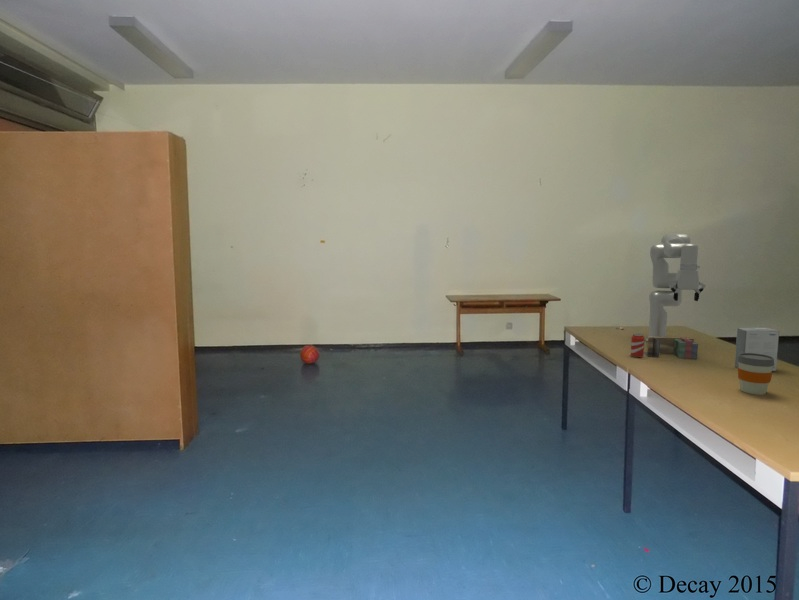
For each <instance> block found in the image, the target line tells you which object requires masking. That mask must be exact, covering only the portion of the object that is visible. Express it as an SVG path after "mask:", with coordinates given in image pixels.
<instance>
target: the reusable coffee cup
mask: <svg viewBox="0 0 799 600" xmlns="http://www.w3.org/2000/svg"><path fill="white" fill-rule="evenodd" d="M738 363H739V367H738V368H737V378H738V380H739V390H740V391H741V392H743V393H745V394H751V395H757V396H758V395H759V396H761V395H766V394H767V391H768V386H769V384H770V383H771V380H772V376H773V372H774V371H772V368H773V366H774V358H773V357H771V356H767V355H762V354H754V353H741V354H739V356H738Z"/></svg>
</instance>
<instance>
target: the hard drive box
mask: <svg viewBox="0 0 799 600" xmlns="http://www.w3.org/2000/svg"><path fill="white" fill-rule="evenodd" d="M779 337H780V331H779V330H777V329H774V328H769V327H737V328H736V340H735V341H736V343H735V356H734V357H735V358H734V367H735V368H737V369H738V367H739V363H738V356H739V354H741V353H754V354H762V355H767V356H771V357H773V358H774V366H773V368H772V371H773V372H776V371H777V362H778V352H779V351H778V350H779V339H780V338H779Z"/></svg>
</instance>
